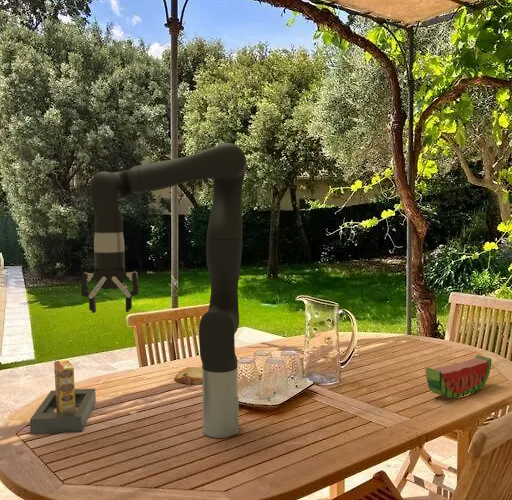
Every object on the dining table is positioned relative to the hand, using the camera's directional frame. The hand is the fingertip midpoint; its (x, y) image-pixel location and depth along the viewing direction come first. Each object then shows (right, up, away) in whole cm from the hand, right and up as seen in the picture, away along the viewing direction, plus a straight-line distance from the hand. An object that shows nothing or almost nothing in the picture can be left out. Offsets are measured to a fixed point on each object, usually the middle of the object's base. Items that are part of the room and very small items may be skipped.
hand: (111, 311), depth 136 cm
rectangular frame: (-16, -31, +12) cm, 37 cm away
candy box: (-16, -32, +12) cm, 38 cm away
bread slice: (+20, -29, +46) cm, 58 cm away
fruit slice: (+102, -30, +29) cm, 110 cm away
